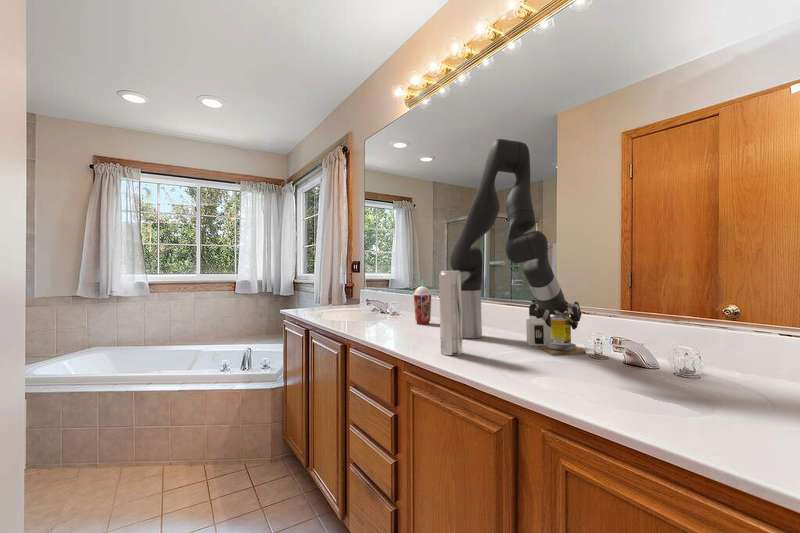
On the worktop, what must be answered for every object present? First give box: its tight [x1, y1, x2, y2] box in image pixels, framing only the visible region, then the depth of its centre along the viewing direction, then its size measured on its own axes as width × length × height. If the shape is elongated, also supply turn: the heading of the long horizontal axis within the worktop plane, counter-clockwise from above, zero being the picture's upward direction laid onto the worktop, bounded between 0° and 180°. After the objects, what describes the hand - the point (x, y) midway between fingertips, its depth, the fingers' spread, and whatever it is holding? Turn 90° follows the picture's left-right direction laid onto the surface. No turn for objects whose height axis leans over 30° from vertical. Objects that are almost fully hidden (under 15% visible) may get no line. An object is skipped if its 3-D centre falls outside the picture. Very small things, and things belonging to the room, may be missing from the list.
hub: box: [537, 342, 587, 356], centre depth 117 cm, size 10×10×2 cm
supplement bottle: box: [551, 312, 572, 346], centre depth 117 cm, size 6×6×10 cm
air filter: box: [438, 270, 464, 356], centre depth 117 cm, size 6×6×25 cm
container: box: [525, 305, 551, 347], centre depth 129 cm, size 8×8×13 cm
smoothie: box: [413, 279, 432, 326], centre depth 180 cm, size 8×8×20 cm
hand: (562, 326), depth 119 cm, fingers open, 6 cm apart
